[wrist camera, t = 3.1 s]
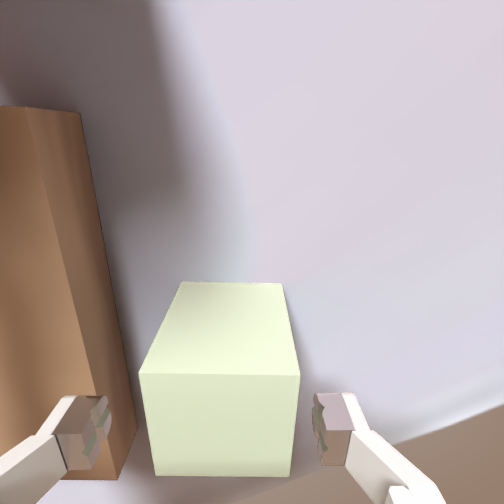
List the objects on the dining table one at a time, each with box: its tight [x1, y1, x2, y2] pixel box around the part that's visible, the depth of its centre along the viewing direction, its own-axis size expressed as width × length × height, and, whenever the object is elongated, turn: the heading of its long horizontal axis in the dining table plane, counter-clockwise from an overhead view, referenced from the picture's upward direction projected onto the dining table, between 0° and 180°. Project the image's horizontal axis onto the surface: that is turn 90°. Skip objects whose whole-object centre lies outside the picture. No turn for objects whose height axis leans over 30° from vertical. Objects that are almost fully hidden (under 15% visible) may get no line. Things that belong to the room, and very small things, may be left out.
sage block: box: [138, 281, 301, 477], centre depth 13 cm, size 5×5×6 cm
